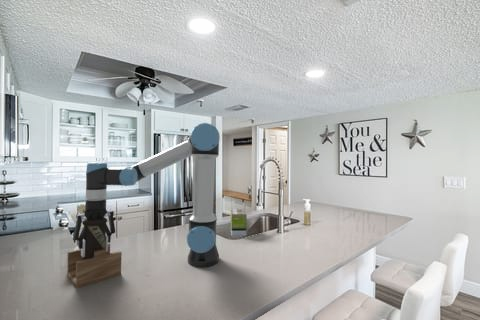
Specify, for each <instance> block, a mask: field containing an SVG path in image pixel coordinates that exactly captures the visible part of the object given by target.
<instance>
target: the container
mask: <svg viewBox="0 0 480 320" xmlns="http://www.w3.org/2000/svg"><path fill="white" fill-rule="evenodd" d="M82 222H83V223H82V225H83V224H84V225H83V226H84V227H86V235H85V237H84V240H85V257H83V260H85V259H89V258H93V257H94V251H97V250H102V249H106V235H107V234H106V224H107V222H108V218H106V216H104V219H100V218H98V219H93V220H90V221H89V220H88V219H87V218H85V219H84V220H82Z"/></svg>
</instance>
